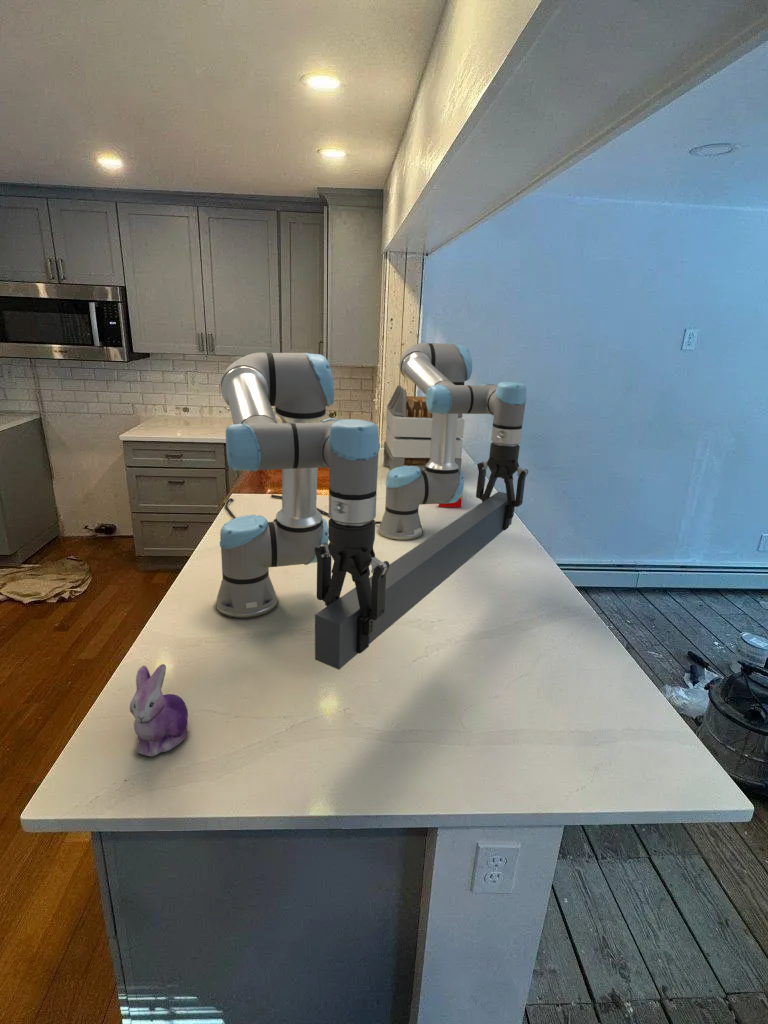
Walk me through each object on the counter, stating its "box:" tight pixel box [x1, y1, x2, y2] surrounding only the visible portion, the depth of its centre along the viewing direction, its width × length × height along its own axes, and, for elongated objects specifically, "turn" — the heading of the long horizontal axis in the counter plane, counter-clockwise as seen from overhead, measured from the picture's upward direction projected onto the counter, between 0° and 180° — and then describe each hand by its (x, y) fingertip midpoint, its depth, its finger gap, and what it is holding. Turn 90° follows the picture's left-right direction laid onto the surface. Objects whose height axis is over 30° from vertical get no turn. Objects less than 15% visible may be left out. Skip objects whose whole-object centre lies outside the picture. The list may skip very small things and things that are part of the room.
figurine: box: [129, 663, 189, 757], centre depth 99 cm, size 9×10×15 cm
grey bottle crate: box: [383, 384, 465, 472], centre depth 268 cm, size 34×33×41 cm
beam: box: [314, 491, 513, 670], centre depth 126 cm, size 83×5×9 cm, turn 149°
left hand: (348, 643), depth 98 cm, fingers closed on beam, 5 cm apart
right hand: (495, 526), depth 156 cm, fingers closed on beam, 5 cm apart
